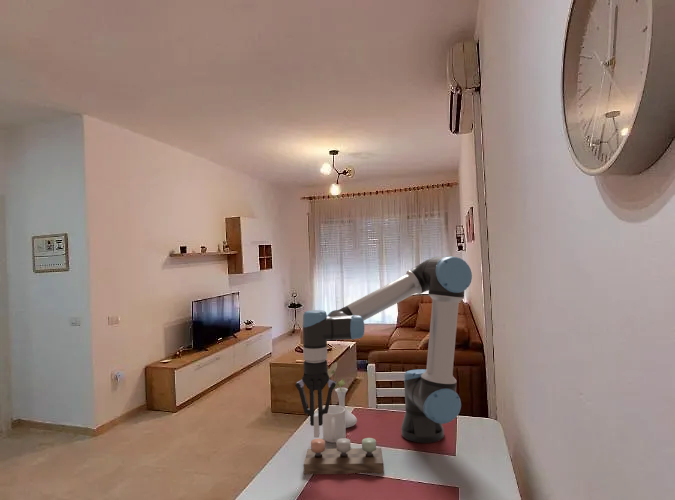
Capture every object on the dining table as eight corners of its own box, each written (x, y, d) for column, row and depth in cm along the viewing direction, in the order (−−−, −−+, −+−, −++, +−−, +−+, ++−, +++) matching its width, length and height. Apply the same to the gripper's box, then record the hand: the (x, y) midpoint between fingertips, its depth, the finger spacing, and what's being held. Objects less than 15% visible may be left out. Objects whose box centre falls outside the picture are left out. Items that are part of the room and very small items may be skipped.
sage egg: (376, 451, 129) (375, 437, 129) (376, 457, 125) (376, 443, 125) (362, 451, 129) (361, 437, 129) (362, 457, 125) (362, 444, 125)
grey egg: (350, 451, 129) (350, 438, 129) (350, 458, 125) (350, 444, 125) (337, 451, 129) (336, 438, 130) (336, 458, 125) (336, 444, 125)
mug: (345, 448, 139) (344, 417, 139) (321, 448, 139) (320, 418, 140) (346, 433, 151) (345, 405, 151) (324, 433, 151) (323, 405, 152)
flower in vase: (343, 417, 167) (341, 355, 168) (363, 424, 158) (360, 360, 159) (318, 426, 158) (316, 362, 159) (338, 435, 150) (336, 366, 150)
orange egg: (325, 451, 130) (325, 438, 130) (324, 458, 125) (324, 444, 125) (312, 452, 130) (311, 438, 130) (310, 458, 125) (310, 444, 126)
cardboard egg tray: (381, 457, 132) (381, 447, 132) (383, 473, 122) (383, 463, 122) (307, 458, 133) (307, 449, 133) (304, 474, 123) (303, 464, 123)
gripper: (336, 356, 132) (338, 430, 131) (296, 357, 132) (297, 430, 132) (335, 362, 124) (337, 440, 124) (293, 363, 125) (294, 440, 124)
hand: (316, 435), depth 128 cm, fingers closed
